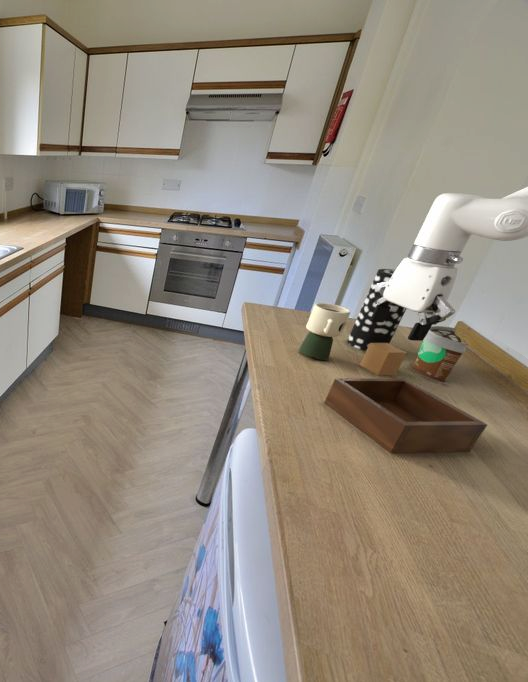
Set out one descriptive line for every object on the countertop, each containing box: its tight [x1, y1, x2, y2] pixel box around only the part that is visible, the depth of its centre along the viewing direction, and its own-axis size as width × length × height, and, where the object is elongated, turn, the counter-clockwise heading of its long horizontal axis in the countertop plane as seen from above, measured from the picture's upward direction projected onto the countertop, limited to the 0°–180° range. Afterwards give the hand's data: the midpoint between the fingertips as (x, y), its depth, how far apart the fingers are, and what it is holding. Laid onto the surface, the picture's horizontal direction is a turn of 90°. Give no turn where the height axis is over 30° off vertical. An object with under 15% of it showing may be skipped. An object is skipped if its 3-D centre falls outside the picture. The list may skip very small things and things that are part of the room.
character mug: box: [298, 302, 351, 361], centre depth 100 cm, size 11×7×13 cm, turn 150°
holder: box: [324, 377, 488, 454], centre depth 75 cm, size 15×15×6 cm
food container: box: [412, 325, 469, 383], centre depth 96 cm, size 12×6×10 cm, turn 144°
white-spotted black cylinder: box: [346, 268, 407, 352], centre depth 105 cm, size 8×8×20 cm
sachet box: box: [359, 343, 408, 376], centre depth 96 cm, size 4×5×6 cm
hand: (394, 330), depth 93 cm, fingers open, 9 cm apart
